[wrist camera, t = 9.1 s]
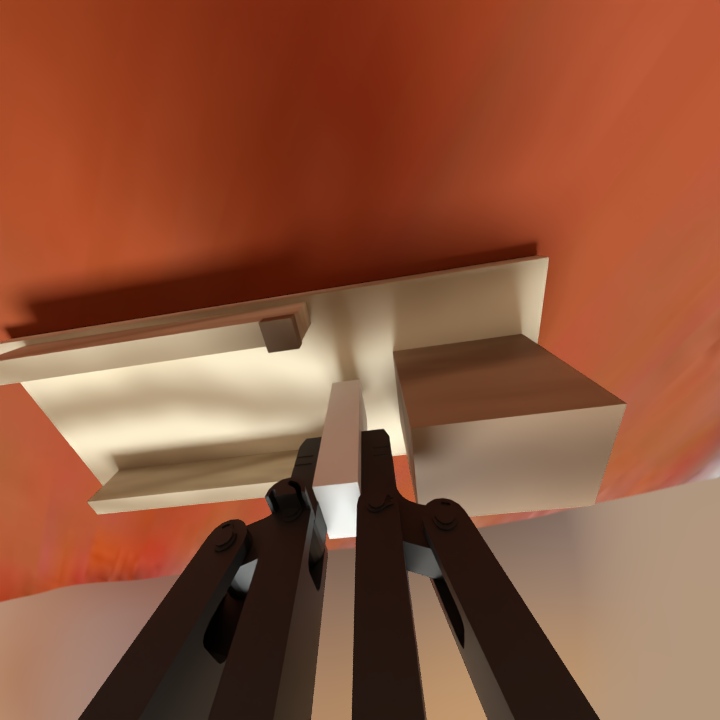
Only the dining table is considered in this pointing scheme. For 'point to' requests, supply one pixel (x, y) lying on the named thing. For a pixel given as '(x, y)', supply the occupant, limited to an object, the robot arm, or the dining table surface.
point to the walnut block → (503, 426)
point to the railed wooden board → (251, 377)
